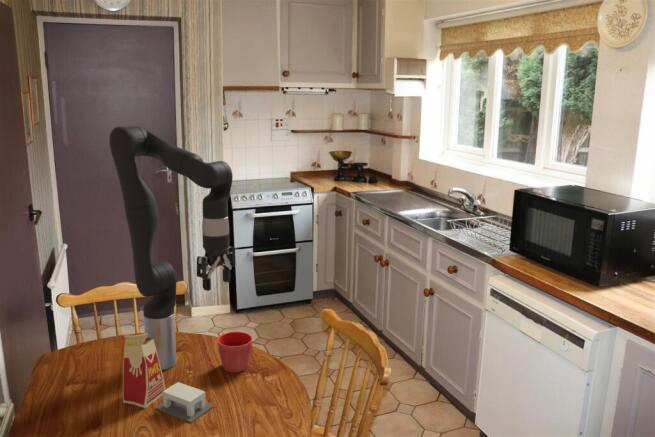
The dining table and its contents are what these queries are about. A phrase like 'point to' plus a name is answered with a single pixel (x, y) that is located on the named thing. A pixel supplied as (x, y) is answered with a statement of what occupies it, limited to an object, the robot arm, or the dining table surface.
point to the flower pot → (235, 350)
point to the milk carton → (141, 371)
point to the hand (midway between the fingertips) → (217, 285)
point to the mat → (183, 410)
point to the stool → (184, 397)
